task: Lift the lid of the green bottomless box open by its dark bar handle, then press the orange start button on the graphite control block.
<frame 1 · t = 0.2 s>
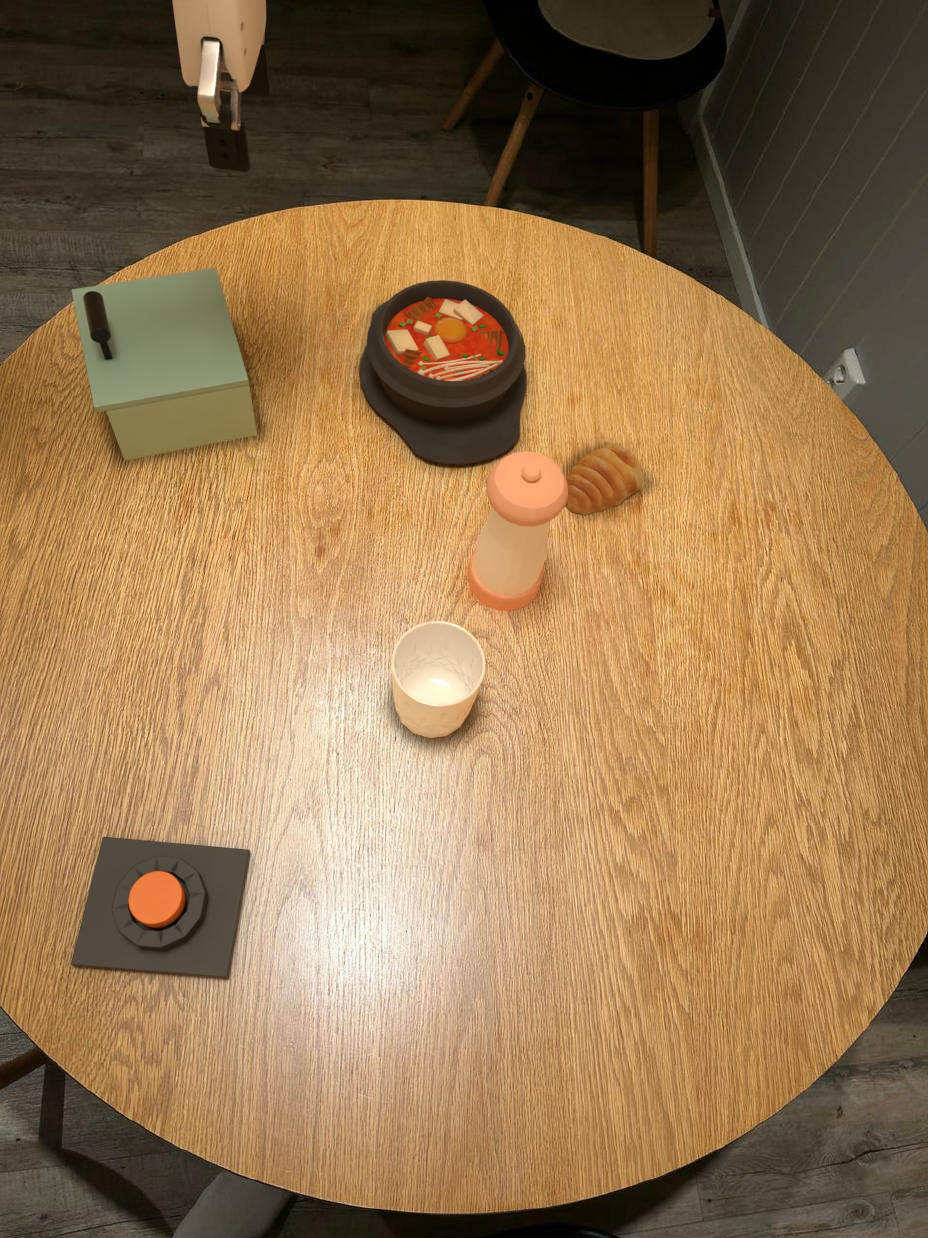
hand: (241, 128, 78), 29 cm above the table, tool pointing down, fingers open, 9 cm apart
salt shaker: (502, 585, 94), on the table
green bottomless box: (180, 398, 101), on the table
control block: (168, 910, 77), on the table
pastry: (600, 490, 101), on the table
start button: (157, 899, 73), point 4 cm above the table, slide at 0.1 cm
lid: (154, 320, 91), point 11 cm above the table, hinge at 0.0°
casserole: (442, 386, 105), on the table
white cup: (431, 708, 87), on the table
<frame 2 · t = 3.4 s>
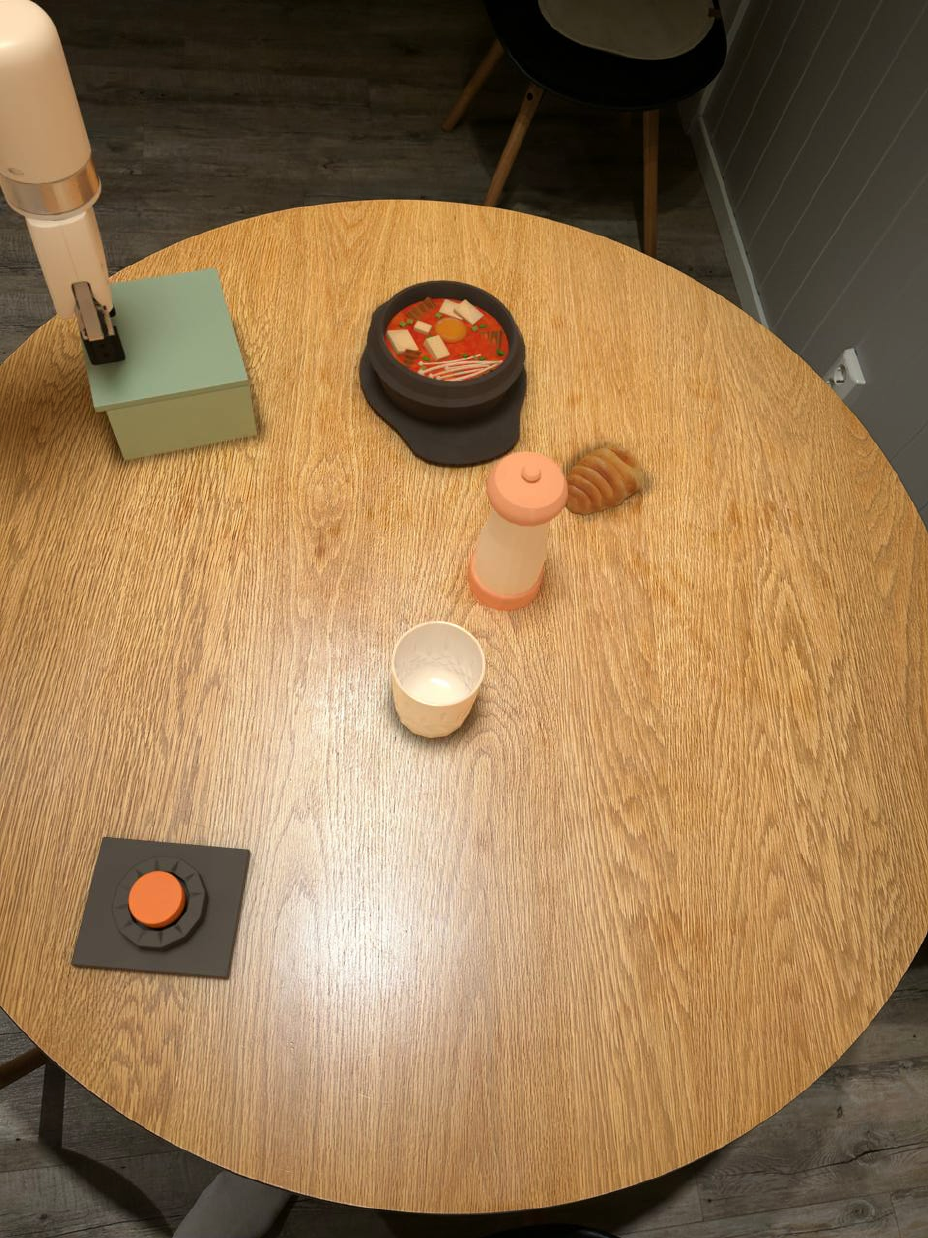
hand: (103, 337, 91), 10 cm above the table, tool pointing down, fingers closed on lid, 5 cm apart
lid: (154, 320, 91), point 11 cm above the table, hinge at 0.0°, touching gripper
everything else where it was.
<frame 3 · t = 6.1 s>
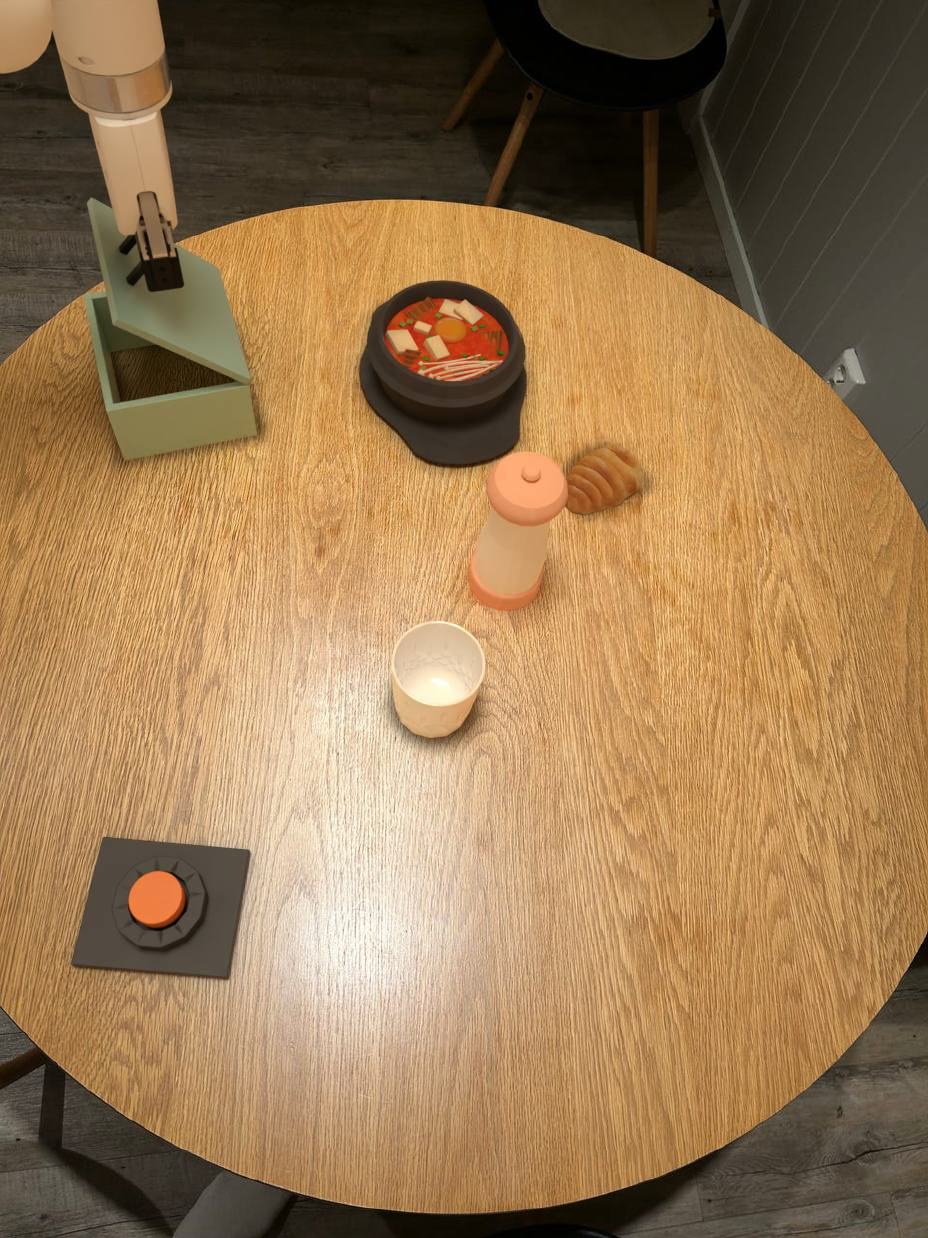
hand: (160, 263, 86), 18 cm above the table, tool pointing down, fingers closed on lid, 5 cm apart
lid: (184, 278, 88), point 16 cm above the table, hinge at 44.8°, touching gripper
everything else where it was.
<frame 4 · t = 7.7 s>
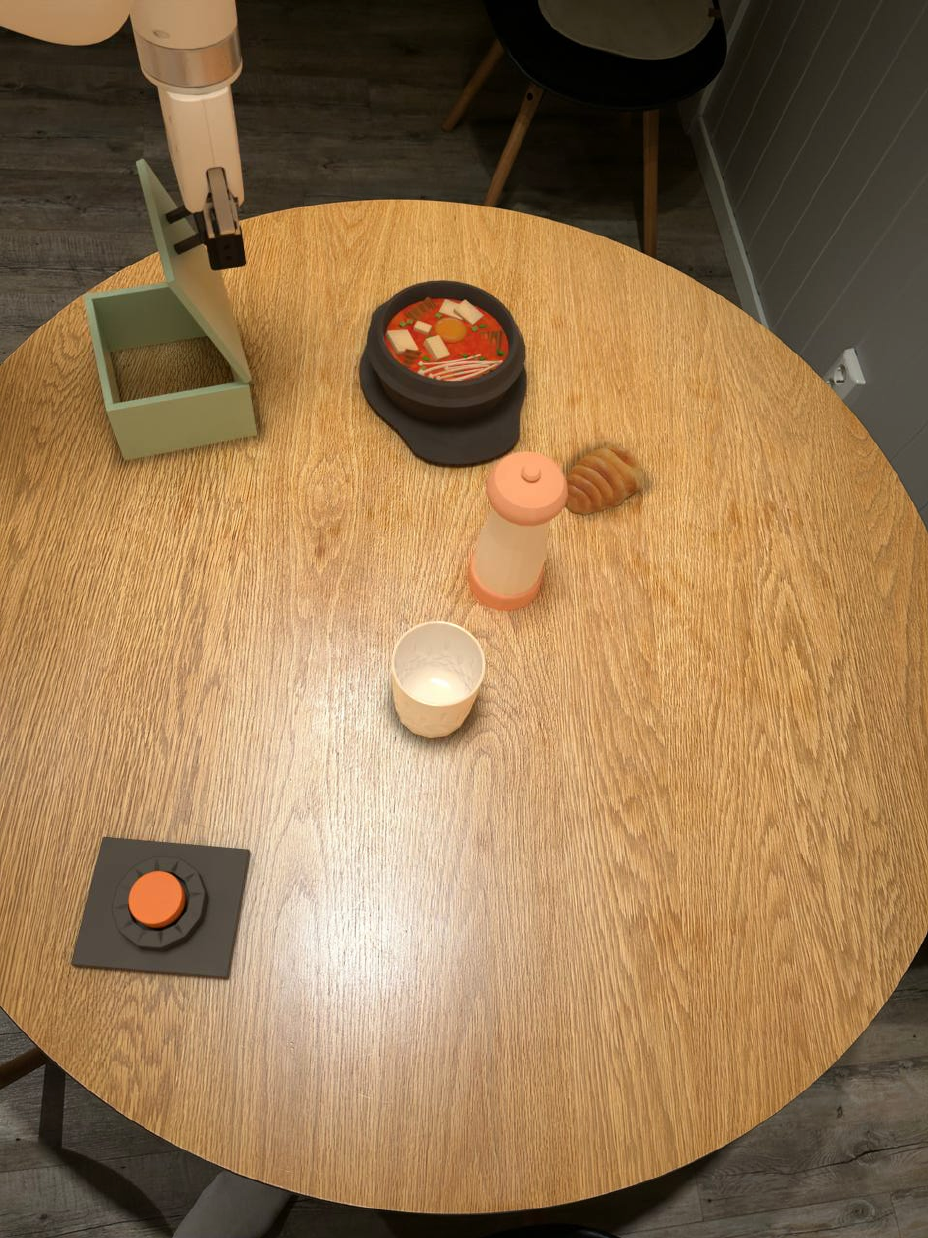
hand: (221, 241, 86), 19 cm above the table, tool pointing down, fingers open, 5 cm apart
lid: (216, 265, 88), point 17 cm above the table, hinge at 69.6°
everything else where it was.
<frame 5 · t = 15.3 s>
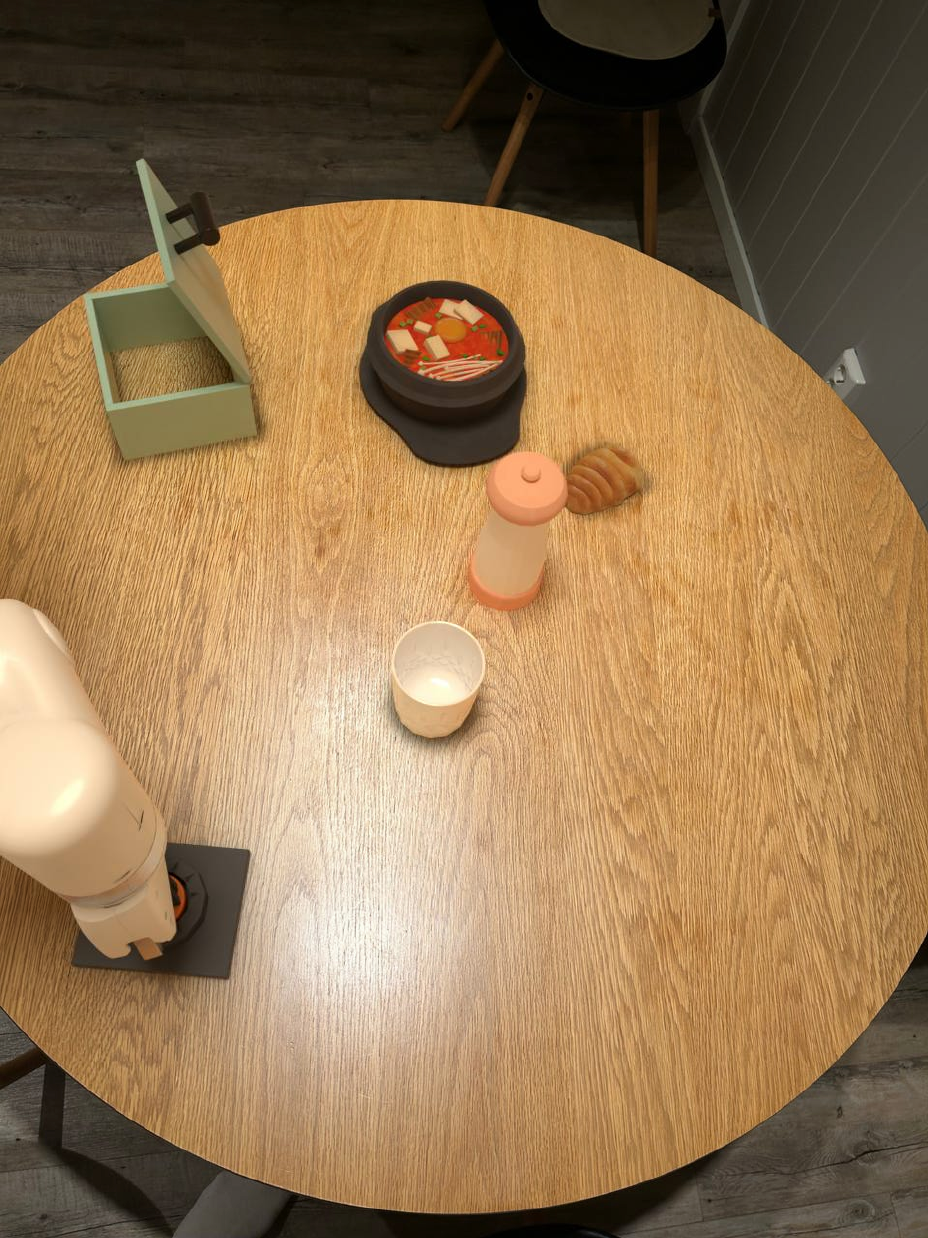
hand: (158, 900, 73), 4 cm above the table, tool pointing down, fingers closed
start button: (159, 901, 74), point 4 cm above the table, slide at -0.9 cm, touching gripper
everything else where it was.
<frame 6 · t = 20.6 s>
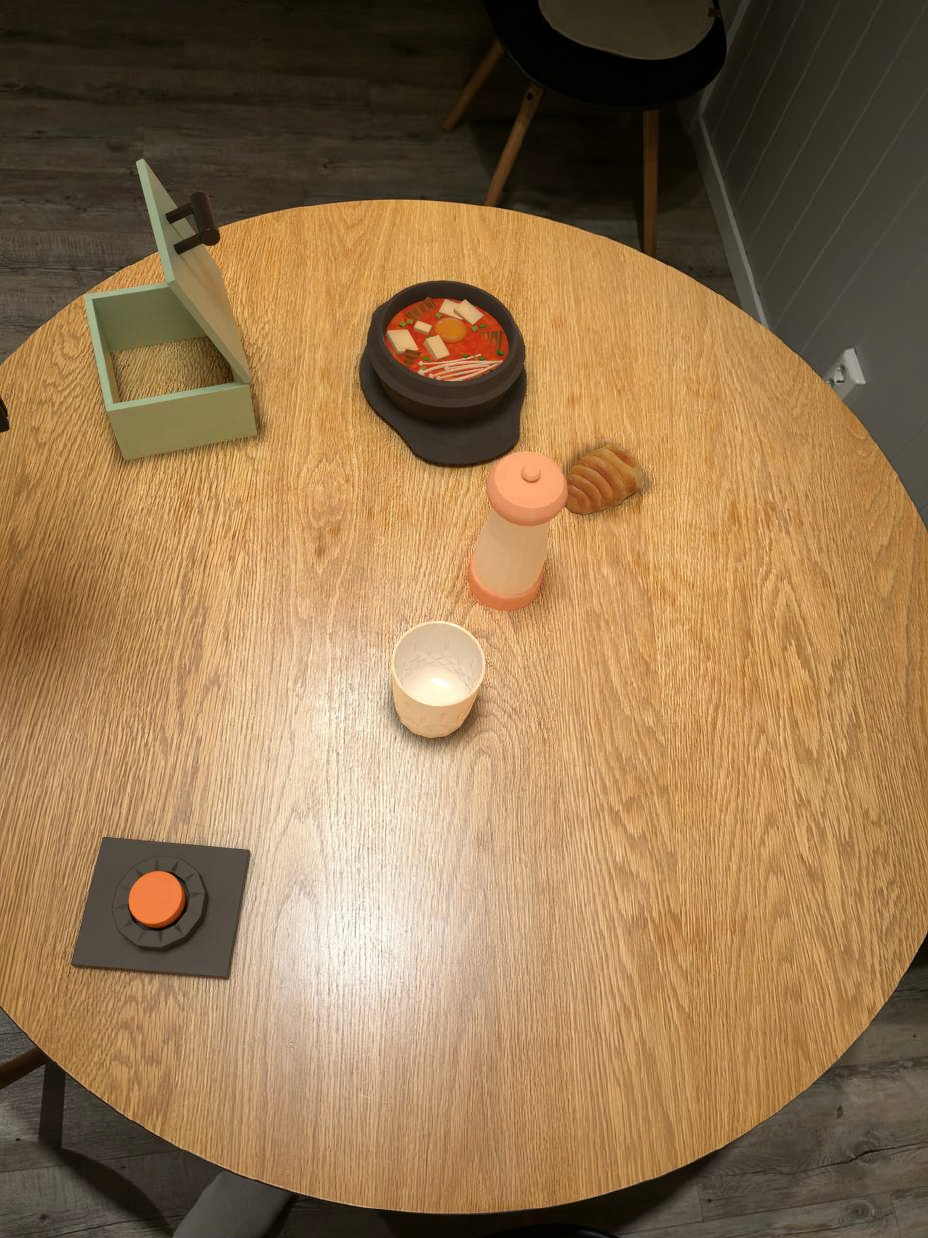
start button: (157, 899, 73), point 4 cm above the table, slide at 0.1 cm
everything else where it was.
at the end: lid at +70° (first picture: +0°); start button pushed in 1.1 cm at the most during the clip, back to where it started at the end; start button slide at 0.1 cm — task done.
